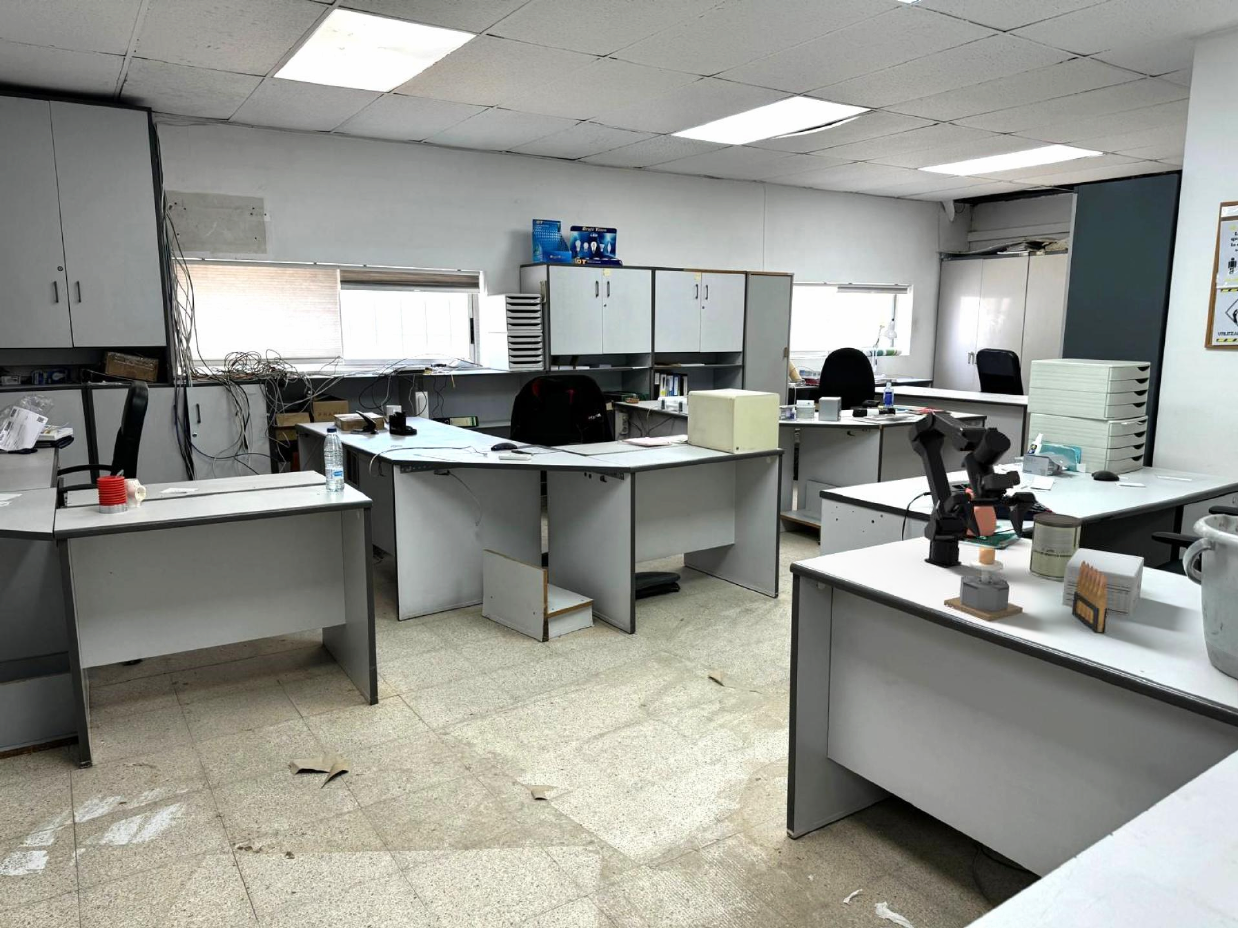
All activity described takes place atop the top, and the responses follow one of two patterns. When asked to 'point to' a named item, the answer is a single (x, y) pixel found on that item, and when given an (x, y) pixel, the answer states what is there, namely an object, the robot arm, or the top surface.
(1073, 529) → the coffee can
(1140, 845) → the top surface
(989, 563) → the pump plunger
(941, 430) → the robot arm
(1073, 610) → the ammunition clip
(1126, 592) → the supplement box
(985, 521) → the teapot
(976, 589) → the pump canister
